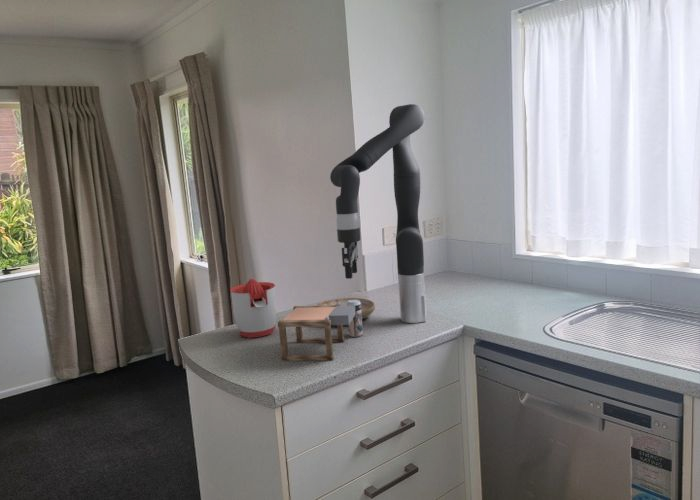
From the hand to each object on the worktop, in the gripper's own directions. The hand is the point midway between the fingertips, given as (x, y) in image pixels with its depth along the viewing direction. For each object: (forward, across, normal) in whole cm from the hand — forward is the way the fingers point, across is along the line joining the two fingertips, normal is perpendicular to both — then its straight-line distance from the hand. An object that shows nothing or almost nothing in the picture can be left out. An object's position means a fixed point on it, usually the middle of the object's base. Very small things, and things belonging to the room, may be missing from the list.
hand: (351, 275), depth 183 cm
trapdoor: (+11, -14, +8) cm, 19 cm away
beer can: (+21, 0, 0) cm, 21 cm away
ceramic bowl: (+21, +21, +8) cm, 31 cm away
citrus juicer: (+21, +3, +36) cm, 42 cm away
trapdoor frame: (+21, -14, +11) cm, 27 cm away
